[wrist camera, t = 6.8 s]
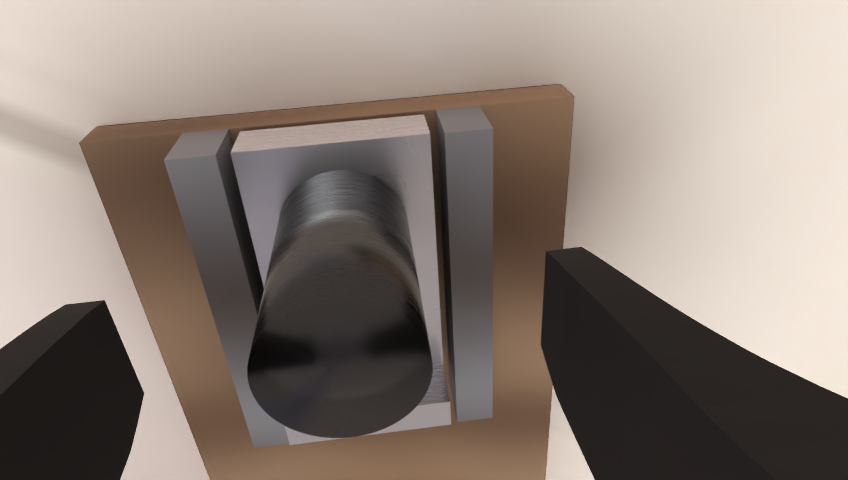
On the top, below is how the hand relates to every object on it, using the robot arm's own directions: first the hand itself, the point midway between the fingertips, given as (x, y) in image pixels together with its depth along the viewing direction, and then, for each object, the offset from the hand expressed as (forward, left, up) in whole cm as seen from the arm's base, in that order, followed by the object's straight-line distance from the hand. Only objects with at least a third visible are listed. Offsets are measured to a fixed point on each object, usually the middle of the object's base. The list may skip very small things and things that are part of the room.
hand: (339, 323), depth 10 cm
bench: (-8, 0, -6) cm, 10 cm away
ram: (-2, 0, -5) cm, 5 cm away
